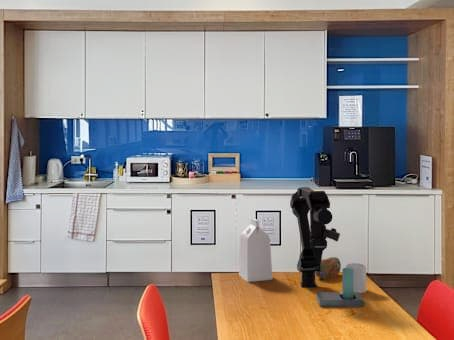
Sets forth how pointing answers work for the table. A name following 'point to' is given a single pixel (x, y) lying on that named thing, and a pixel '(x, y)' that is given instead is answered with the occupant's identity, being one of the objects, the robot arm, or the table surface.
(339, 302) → the flange plate
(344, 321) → the table surface
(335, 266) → the tin
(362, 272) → the mug
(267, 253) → the milk
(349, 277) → the peg
